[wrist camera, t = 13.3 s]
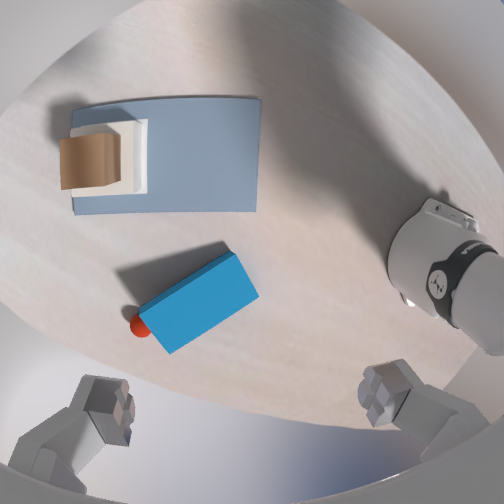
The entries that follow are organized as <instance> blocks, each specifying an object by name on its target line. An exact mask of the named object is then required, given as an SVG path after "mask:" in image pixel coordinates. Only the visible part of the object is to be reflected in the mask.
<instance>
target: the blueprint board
mask: <svg viewBox="0 0 504 504" xmlns="http://www.w3.org/2000/svg"><path fill="white" fill-rule="evenodd" d="M260 106H261V100H260V99H243V98H173V99H156V100H143V101H132V102H123V103H115V104H107V105H101V106H94V107H88V108H82V109H77V110H73V114H72V129H73V128H79V127H85V126H92V125H99V124H107V123H116V122H125V121H136V122H139V123H142V124H143V130H142V189H141V190H139V191H137V192H136V193H134V194H114V195H97V196H83V197H73V202H74V214H75V215H93V214H117V213H150V212H256V202H257V178H258V154H259V130H260Z"/></svg>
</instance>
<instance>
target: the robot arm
mask: <svg viewBox="0 0 504 504" xmlns="http://www.w3.org/2000/svg"><path fill="white" fill-rule="evenodd" d="M388 274H389V278H390V280H391V282H392V284H393V286H394V287H395V288H396V289H397V290H398V291H399V292H401V294H402V296H403V299H404V302H405V304H406V305H408V306H409V307H413V306H415V305H417V306H418V307H419V308H421V309H422V310H424V311H425V312H426V313H428V314H429V315H431V316H432V317H434V318H438V317H442V319H444V321H445V322H446V323H448V324H449V325H451V326H453V327H454V328H457V329H461V330H462V331H463V332H464V333H465V334H466V335H467V336H469V337H470V338H471V339H472V340H473V341H474V342H475V343H476V344H477V345H478V346H480V347H481V348H482V349H483V350H484V351H485V352H486V353H487V354H489V355H491V356H503V355H504V257H502V256H500V255H499V254H498V253H497V252H496V251H495V250H494V249H493V248H492V247H491V246H490V244H489V240H488V238H487V237H486V236H484V235H482V234H480V233H479V222H478V221H477V220H476V219H474V218H472V217H470V216H468V215H466V214H464V213H462V212H460V211H458V210H456V209H454V208H452V207H450V206H448V205H446V204H443V203H441V202H439V201H437V200H435V199H432V198H429V199H428V200H426V202H425V203H424V205H423V206H422V208H421V209H420V211H419V212H418V213H417V214H416V215H414V216H413V217H411V218H410V219H409V220H408V221H407V222H406V223H405V224H404V225H403V226H402V227H401V228H400V230H399V231H398V233H397V235H396V236H395V238H394V240H393V243H392V245H391V248H390V252H389V257H388ZM363 375H364V377H365V379H364V380H363V381H362V382H361V383H360V384H359V387H358V399H359V402H360V404H361V406H362V407H364V408H365V409H367V410H368V411H367V414H366V415H367V417H368V419H369V421H370V423H371V425H372V426H373V428H374V427H378V426H382V425H385V424H389V423H392V422H393V423H392V424H394V425H395V426H397V427H398V428H400V429H401V430H403V431H405V432H406V433H407V434H409V435H410V436H412V437H413V438H415V439H416V440H418V441H419V442H421V443H422V444H424V445H426V446H427V448H426V449H425V451H424V452H423V453H422V454H421V456H420V459H421V461H422V464H420V465H418V466H415V467H413V468H411V469H408V470H406V471H404V472H401V473H399V474H396V475H394V476H391V477H389V478H386V479H383V480H380V481H378V482H375V483H372V484H369V485H366V486H363V487H360V488H356V489H353V490H350V491H346V492H343V493H339V494H335V495H331V496H327V497H323V498H319V499H313V500H309V501H303V502H298V503H292V504H504V415H503V416H501V417H500V418H499V419H498V420H496V421H495V422H493V423H492V424H490V423H489V422H488V421H487V419H486V418H485V417H484V416H483V414H482V413H481V412H480V411H479V410H478V408H477V407H476V406H475V405H474V404H472V403H470V402H468V401H465V400H463V399H461V398H458V397H456V396H454V395H451V394H449V393H447V392H445V391H442V390H440V389H438V388H435V387H433V386H431V385H429V384H426V385H424V383H423V382H422V381H421V380H420V378H419V377H418V376H417V375H416V373H415V372H414V371H413V370H412V368H411V367H410V366H409V365H408V364H407V362H406V361H405V360H403V359H398V360H394V361H391V362H386V363H381V364H377V365H372V366H368V367H367V368H366V369H365V370H364V373H363ZM128 391H129V385H128V382H127V380H125V379H117V378H109V377H101V376H93V375H87V374H85V375H84V376H83V377H82V378H81V381H80V383H79V385H78V388H77V390H76V392H75V394H74V397H73V399H72V401H71V404H70V406H69V408H67V407H65V408H63V409H62V410H60V411H59V412H57V413H56V414H54V415H53V416H51V417H50V418H48V419H47V420H45V421H44V422H43V423H41V424H39V425H38V426H36V427H35V428H33V429H32V430H30V431H29V432H27V433H26V434H24V435H23V436H21V437H20V438H19V439H18V442H17V444H16V447H15V449H14V451H13V454H12V456H11V458H10V461H9V463H8V466H6V465H4V464H2V463H0V504H126V503H120V502H115V501H110V500H106V499H101V498H96V497H93V496H89V495H86V492H87V487H86V486H85V485H84V484H83V483H82V482H81V481H80V480H79V478H77V476H76V475H77V474H78V473H79V472H80V471H81V470H82V469H83V468H84V467H85V466H86V465H87V464H88V463H89V462H90V461H91V460H92V459H93V458H94V456H96V455H97V454H98V453H99V452H100V451H101V449H102V448H103V447H104V446H105V445H106V444H112V445H119V446H129V443H130V438H131V433H132V431H131V429H130V426H129V425H130V424H131V423H133V422H134V417H135V404H134V400H133V397H132V396H131V395H130V394H129V393H128Z"/></svg>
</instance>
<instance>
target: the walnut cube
mask: <svg viewBox="0 0 504 504" xmlns="http://www.w3.org/2000/svg"><path fill="white" fill-rule="evenodd" d="M60 175H61V190H65V189H76V188H88V187H101V186H107V185H110V184H112V183H115V182H118V181H121V135H116V134H108V133H100V134H92V135H85V136H78V137H72V138H66V139H60Z"/></svg>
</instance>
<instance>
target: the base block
mask: <svg viewBox="0 0 504 504" xmlns="http://www.w3.org/2000/svg"><path fill="white" fill-rule="evenodd" d="M142 130H143V124H142V123H139V122H136V121H125V122H116V123H107V124H99V125H92V126H85V127H79V128H73V129H70V138H72V137H78V136H85V135H92V134H100V133H108V134H116V135H121V181H118V182H115V183H112V184H110V185H107V186H101V187H88V188H76V189H71V196H72V197H83V196H97V195H114V194H134V193H136V192H137V191H139V190H141V189H142Z"/></svg>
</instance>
